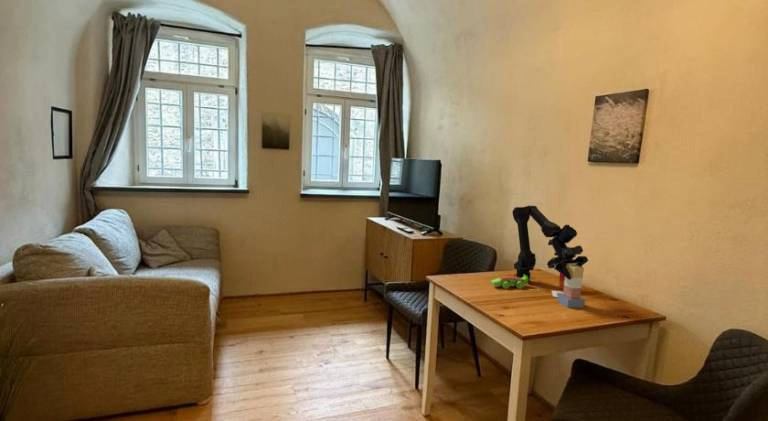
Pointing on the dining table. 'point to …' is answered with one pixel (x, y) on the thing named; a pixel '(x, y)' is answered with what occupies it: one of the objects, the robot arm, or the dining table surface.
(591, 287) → the dining table surface
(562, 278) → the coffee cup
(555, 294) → the page
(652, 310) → the dining table surface
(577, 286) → the brick column
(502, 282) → the green bumpy elongated piece
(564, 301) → the base brick
